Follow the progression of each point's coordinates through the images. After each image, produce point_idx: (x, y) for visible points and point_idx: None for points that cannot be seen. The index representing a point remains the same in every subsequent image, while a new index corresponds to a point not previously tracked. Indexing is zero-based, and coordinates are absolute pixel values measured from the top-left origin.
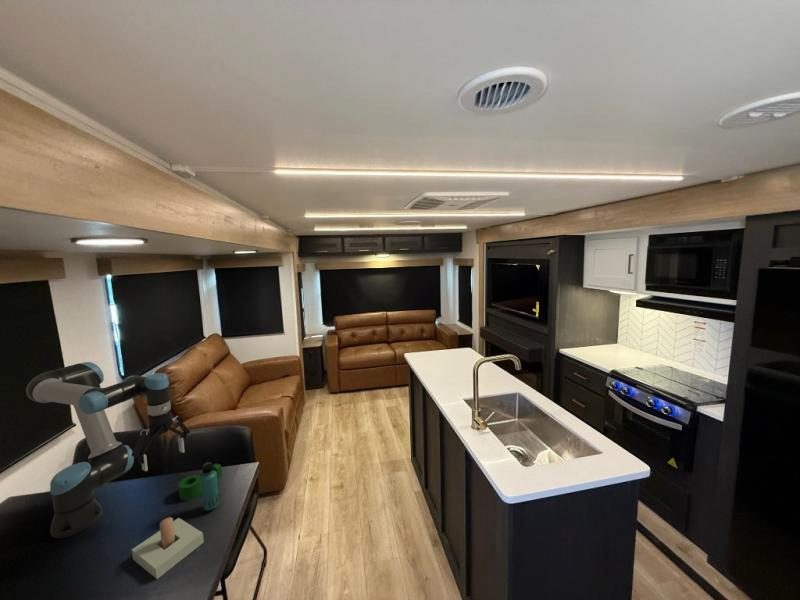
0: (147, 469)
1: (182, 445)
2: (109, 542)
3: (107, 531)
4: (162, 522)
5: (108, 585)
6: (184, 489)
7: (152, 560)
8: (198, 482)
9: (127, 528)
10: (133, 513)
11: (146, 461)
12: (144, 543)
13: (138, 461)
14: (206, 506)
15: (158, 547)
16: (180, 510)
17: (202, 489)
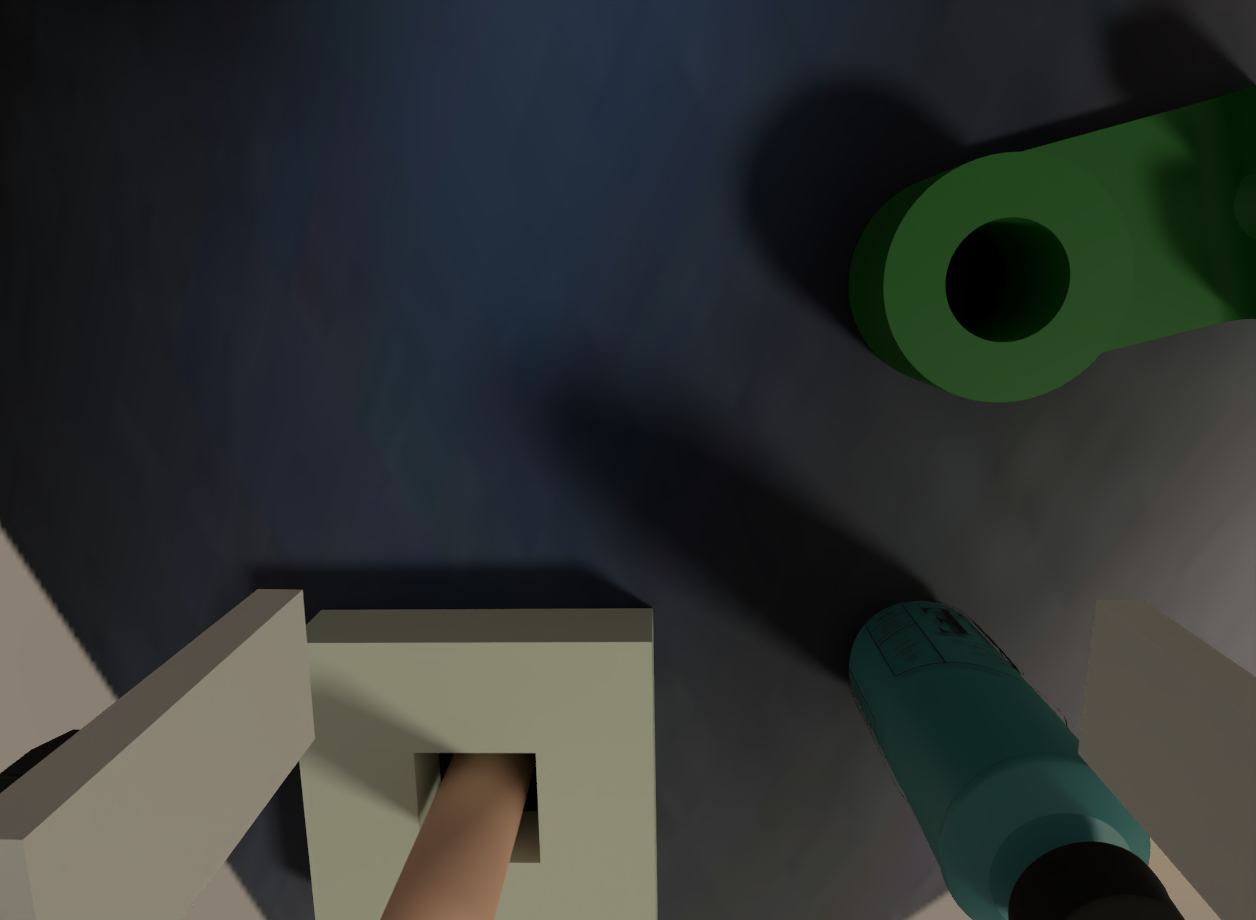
0: (301, 749)
1: (1211, 898)
2: (278, 259)
3: (309, 90)
4: (409, 913)
5: None
6: (892, 344)
7: (334, 877)
8: (1032, 396)
9: (417, 219)
10: (525, 45)
11: (189, 891)
12: (366, 669)
13: (8, 768)
14: (861, 706)
15: (409, 801)
16: (761, 425)
17: (904, 774)
